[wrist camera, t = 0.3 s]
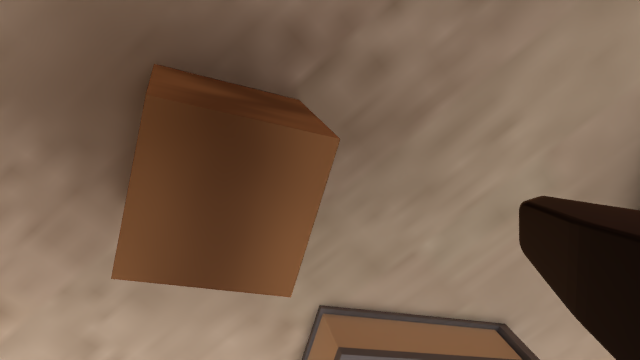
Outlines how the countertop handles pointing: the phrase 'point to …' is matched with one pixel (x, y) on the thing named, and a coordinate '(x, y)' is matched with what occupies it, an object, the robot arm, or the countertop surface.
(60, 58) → the countertop surface
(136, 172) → the walnut cube
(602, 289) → the robot arm
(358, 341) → the book
